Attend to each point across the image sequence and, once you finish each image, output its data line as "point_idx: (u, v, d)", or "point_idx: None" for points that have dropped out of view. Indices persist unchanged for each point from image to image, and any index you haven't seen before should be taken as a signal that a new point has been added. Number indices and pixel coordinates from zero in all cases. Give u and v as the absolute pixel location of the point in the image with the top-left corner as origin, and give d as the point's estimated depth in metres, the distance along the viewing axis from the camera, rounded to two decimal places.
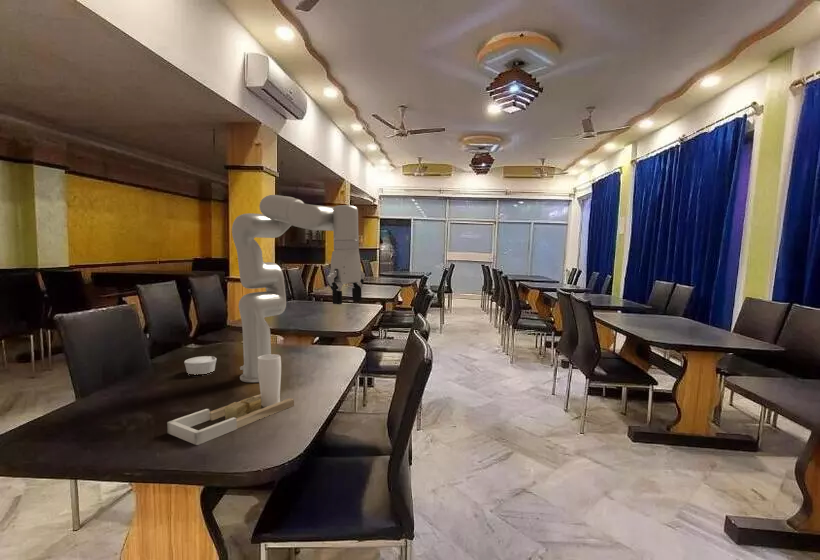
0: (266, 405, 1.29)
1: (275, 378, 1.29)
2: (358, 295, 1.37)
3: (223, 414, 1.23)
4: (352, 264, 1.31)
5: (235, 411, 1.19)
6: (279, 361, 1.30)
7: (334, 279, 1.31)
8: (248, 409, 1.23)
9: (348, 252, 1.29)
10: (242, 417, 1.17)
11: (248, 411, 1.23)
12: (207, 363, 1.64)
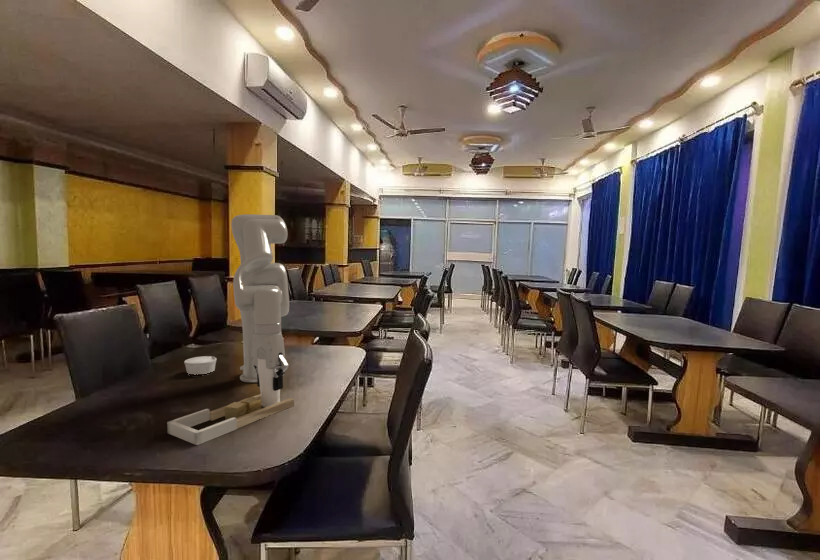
0: (266, 405, 1.29)
1: None
2: None
3: (223, 414, 1.23)
4: None
5: (235, 411, 1.19)
6: None
7: None
8: (248, 409, 1.23)
9: None
10: (242, 417, 1.17)
11: (248, 411, 1.23)
12: (207, 363, 1.64)
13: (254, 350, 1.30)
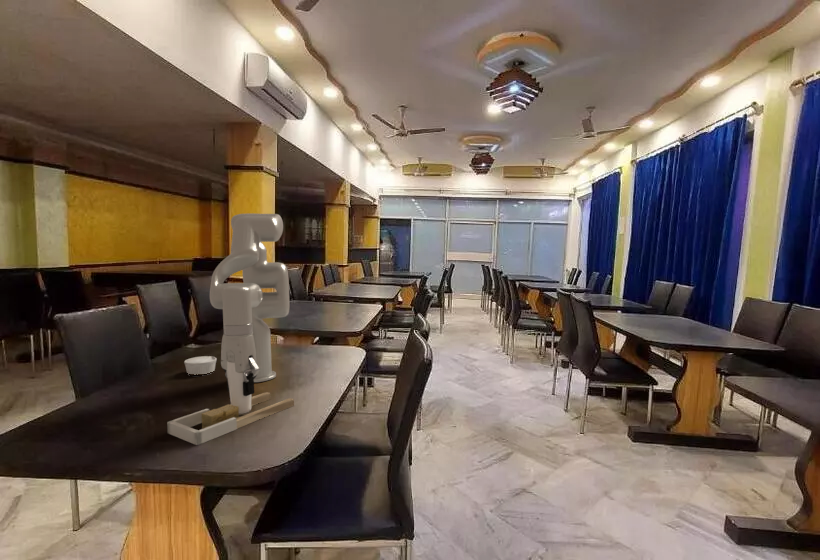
0: None
1: None
2: None
3: None
4: None
5: (210, 419, 1.13)
6: None
7: None
8: (225, 418, 1.17)
9: None
10: (242, 417, 1.17)
11: None
12: (207, 363, 1.64)
13: (223, 352, 1.21)
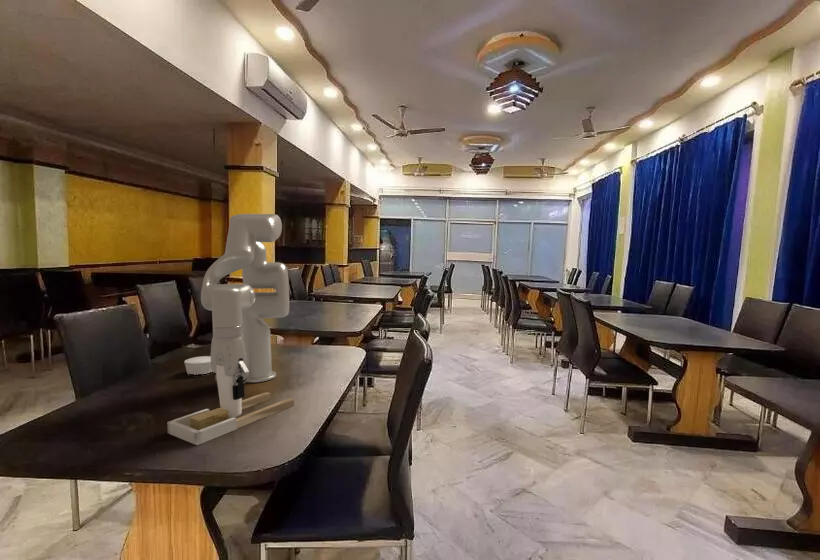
0: None
1: None
2: None
3: None
4: None
5: (198, 424, 1.11)
6: None
7: None
8: (213, 422, 1.14)
9: None
10: (242, 417, 1.17)
11: None
12: (207, 363, 1.64)
13: (213, 355, 1.19)
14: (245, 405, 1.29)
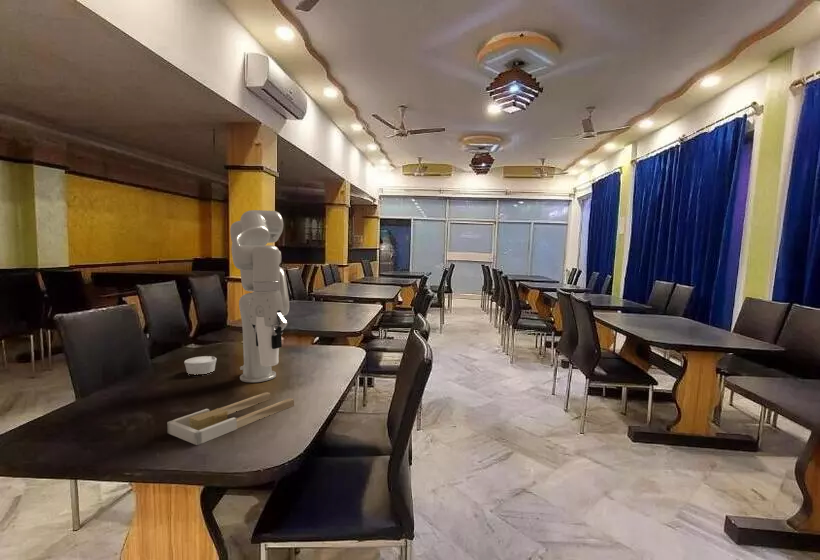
0: (265, 364, 1.28)
1: None
2: None
3: None
4: None
5: (197, 424, 1.11)
6: None
7: None
8: (213, 422, 1.14)
9: None
10: (242, 417, 1.17)
11: None
12: (207, 363, 1.64)
13: (252, 308, 1.29)
14: (245, 405, 1.29)
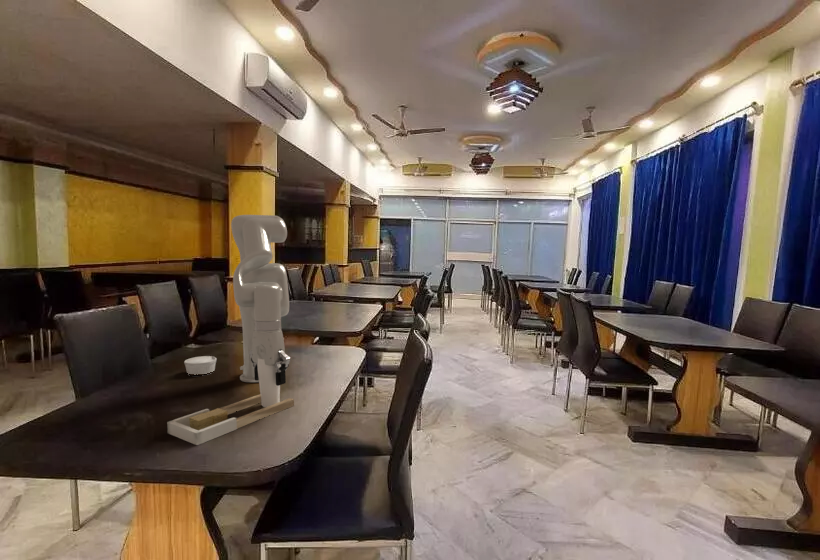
0: (266, 405, 1.29)
1: (275, 377, 1.29)
2: None
3: None
4: None
5: (197, 424, 1.11)
6: None
7: None
8: (213, 422, 1.14)
9: None
10: (242, 417, 1.17)
11: (213, 424, 1.14)
12: (207, 363, 1.64)
13: (254, 347, 1.30)
14: (245, 405, 1.29)
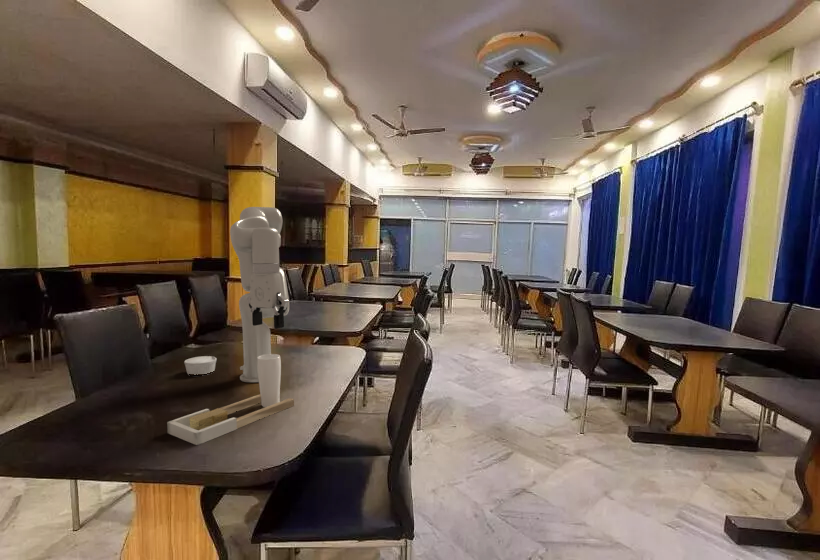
0: (266, 405, 1.29)
1: (275, 377, 1.29)
2: (260, 319, 1.33)
3: None
4: None
5: (197, 424, 1.11)
6: (279, 361, 1.30)
7: None
8: (213, 422, 1.14)
9: None
10: (242, 417, 1.17)
11: (213, 424, 1.14)
12: (207, 363, 1.64)
13: (252, 291, 1.29)
14: (245, 405, 1.29)
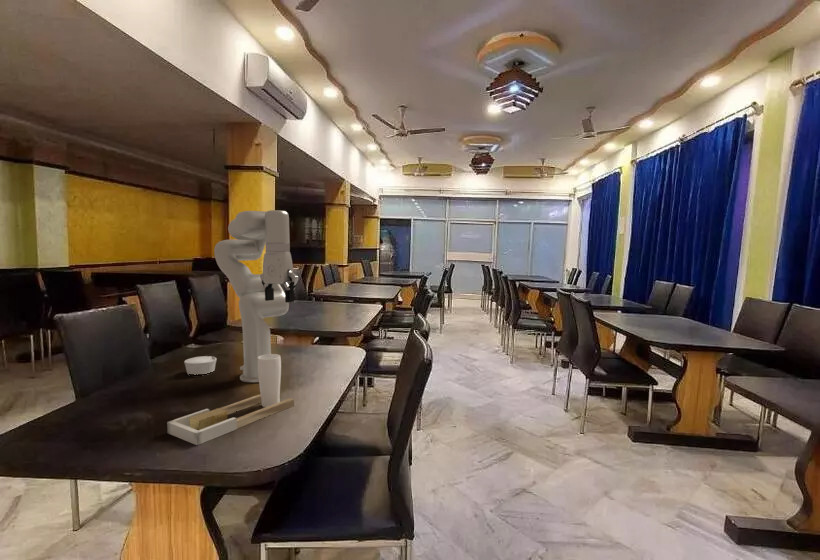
0: (266, 405, 1.29)
1: (275, 377, 1.29)
2: (272, 295, 1.45)
3: None
4: None
5: (197, 424, 1.11)
6: (279, 361, 1.30)
7: None
8: (213, 422, 1.14)
9: None
10: (242, 417, 1.17)
11: (213, 424, 1.14)
12: (207, 363, 1.64)
13: (265, 268, 1.41)
14: (245, 405, 1.29)
